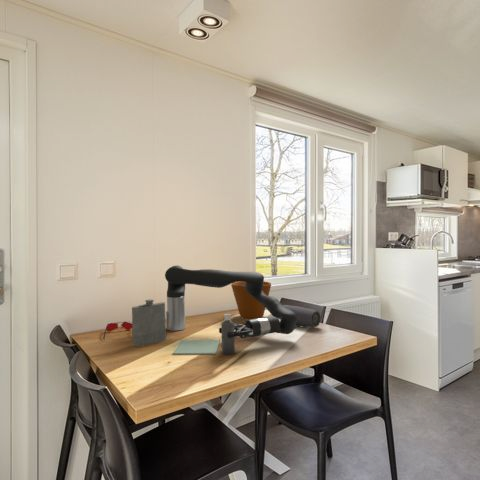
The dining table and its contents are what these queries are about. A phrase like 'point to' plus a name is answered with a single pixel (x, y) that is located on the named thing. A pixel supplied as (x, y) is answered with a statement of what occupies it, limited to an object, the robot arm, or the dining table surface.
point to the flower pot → (249, 301)
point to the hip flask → (148, 323)
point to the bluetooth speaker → (305, 316)
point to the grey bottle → (227, 343)
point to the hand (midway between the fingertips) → (223, 332)
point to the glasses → (115, 326)
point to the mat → (197, 347)
